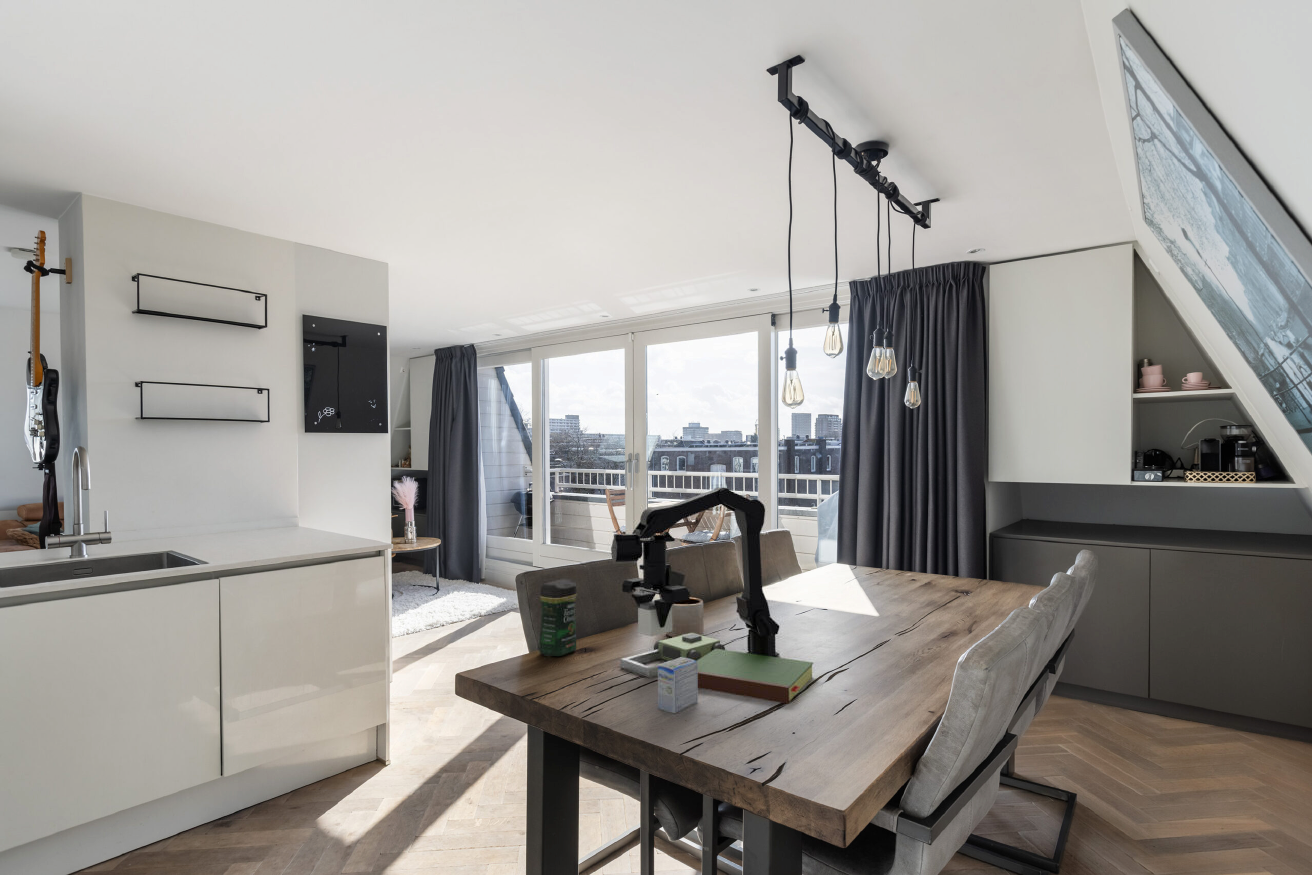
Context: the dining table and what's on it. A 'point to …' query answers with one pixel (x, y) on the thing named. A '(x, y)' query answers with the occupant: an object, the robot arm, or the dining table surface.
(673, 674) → the medicine box
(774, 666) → the hardcover book
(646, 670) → the gray rectangular open frame
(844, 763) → the dining table surface
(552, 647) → the coffee jar
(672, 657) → the green wheeled cart
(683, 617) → the planter
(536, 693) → the dining table surface
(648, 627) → the chute block
